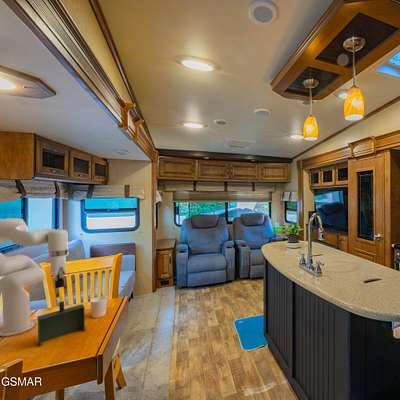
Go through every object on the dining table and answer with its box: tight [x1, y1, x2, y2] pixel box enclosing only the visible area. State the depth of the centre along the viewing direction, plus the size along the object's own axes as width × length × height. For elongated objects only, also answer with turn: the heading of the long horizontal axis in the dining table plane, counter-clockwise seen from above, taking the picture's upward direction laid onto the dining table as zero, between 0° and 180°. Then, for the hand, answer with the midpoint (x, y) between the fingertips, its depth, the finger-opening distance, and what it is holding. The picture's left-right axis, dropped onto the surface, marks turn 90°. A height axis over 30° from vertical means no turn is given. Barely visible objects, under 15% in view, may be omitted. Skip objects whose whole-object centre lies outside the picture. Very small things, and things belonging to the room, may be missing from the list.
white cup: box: [90, 295, 108, 319], centre depth 149 cm, size 8×8×10 cm
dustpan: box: [37, 300, 86, 347], centre depth 127 cm, size 5×17×18 cm, turn 142°
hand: (59, 287), depth 130 cm, fingers closed
